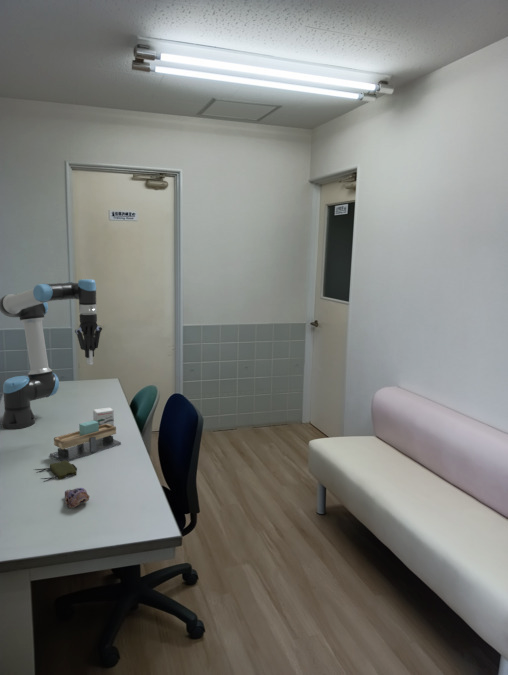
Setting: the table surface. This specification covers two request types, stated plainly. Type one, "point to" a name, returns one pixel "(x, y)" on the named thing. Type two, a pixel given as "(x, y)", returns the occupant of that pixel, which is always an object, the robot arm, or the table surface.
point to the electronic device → (60, 470)
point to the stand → (85, 449)
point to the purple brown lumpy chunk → (76, 497)
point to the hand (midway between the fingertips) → (89, 364)
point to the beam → (83, 436)
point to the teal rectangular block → (88, 427)
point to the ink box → (104, 416)
